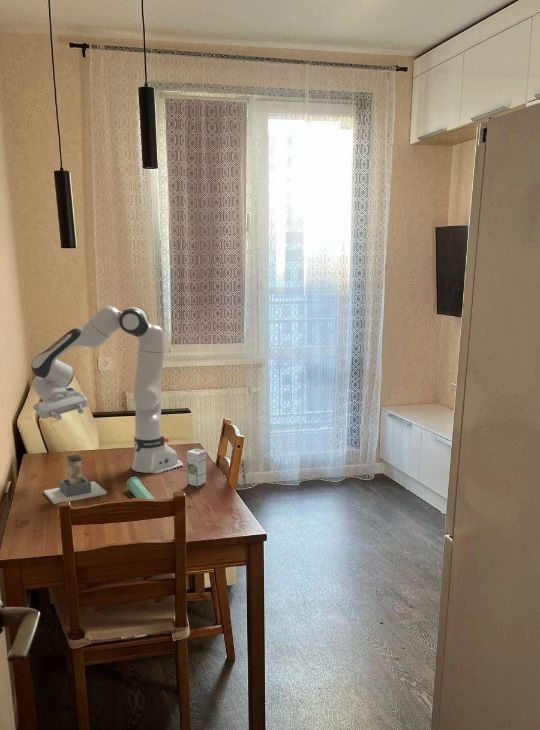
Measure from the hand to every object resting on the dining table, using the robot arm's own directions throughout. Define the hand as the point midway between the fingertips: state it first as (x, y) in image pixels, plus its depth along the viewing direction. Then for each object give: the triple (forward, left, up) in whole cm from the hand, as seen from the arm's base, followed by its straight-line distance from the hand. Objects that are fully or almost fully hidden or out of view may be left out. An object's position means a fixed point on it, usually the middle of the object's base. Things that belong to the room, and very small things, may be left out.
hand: (70, 414), depth 244 cm
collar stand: (+3, +14, -28) cm, 32 cm away
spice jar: (+3, +14, -27) cm, 31 cm away
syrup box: (-42, +30, -28) cm, 59 cm away
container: (-16, +34, -29) cm, 47 cm away
